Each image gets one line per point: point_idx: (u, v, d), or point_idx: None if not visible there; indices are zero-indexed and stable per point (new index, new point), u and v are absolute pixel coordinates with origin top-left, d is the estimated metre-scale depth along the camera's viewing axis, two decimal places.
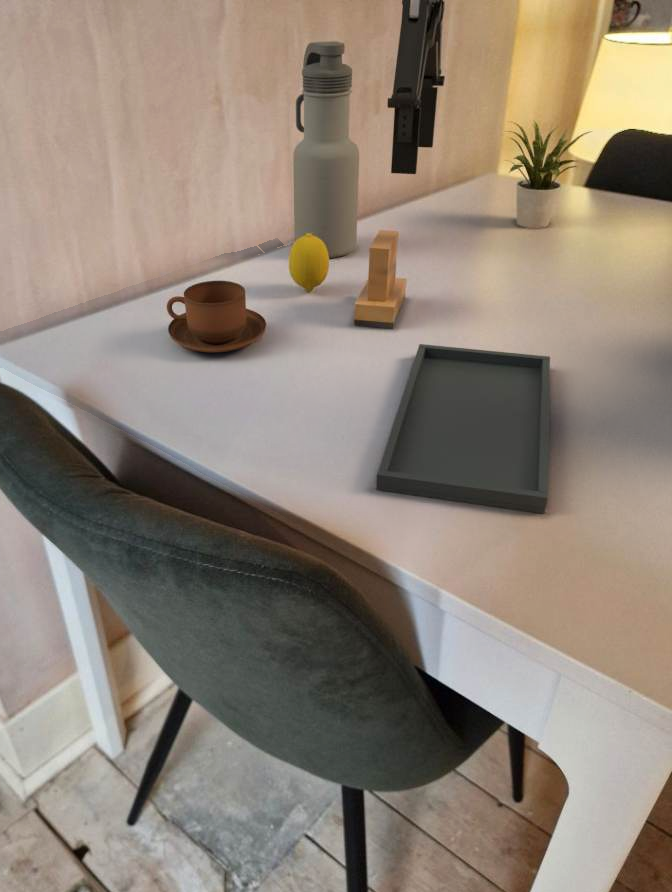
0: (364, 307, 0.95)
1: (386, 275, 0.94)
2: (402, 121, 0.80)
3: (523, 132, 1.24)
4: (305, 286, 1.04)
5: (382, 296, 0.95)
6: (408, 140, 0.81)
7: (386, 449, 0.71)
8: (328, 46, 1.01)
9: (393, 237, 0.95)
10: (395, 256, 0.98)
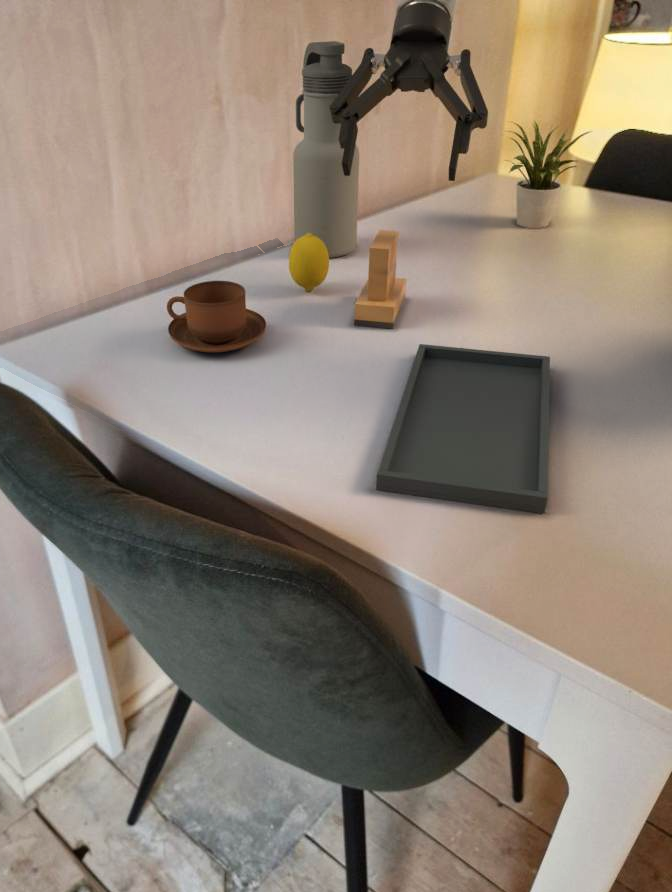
0: (364, 307, 0.95)
1: (386, 275, 0.94)
2: None
3: (523, 132, 1.24)
4: (305, 286, 1.04)
5: (382, 296, 0.95)
6: (339, 141, 0.99)
7: (386, 449, 0.71)
8: (328, 46, 1.01)
9: (393, 237, 0.95)
10: (395, 256, 0.98)
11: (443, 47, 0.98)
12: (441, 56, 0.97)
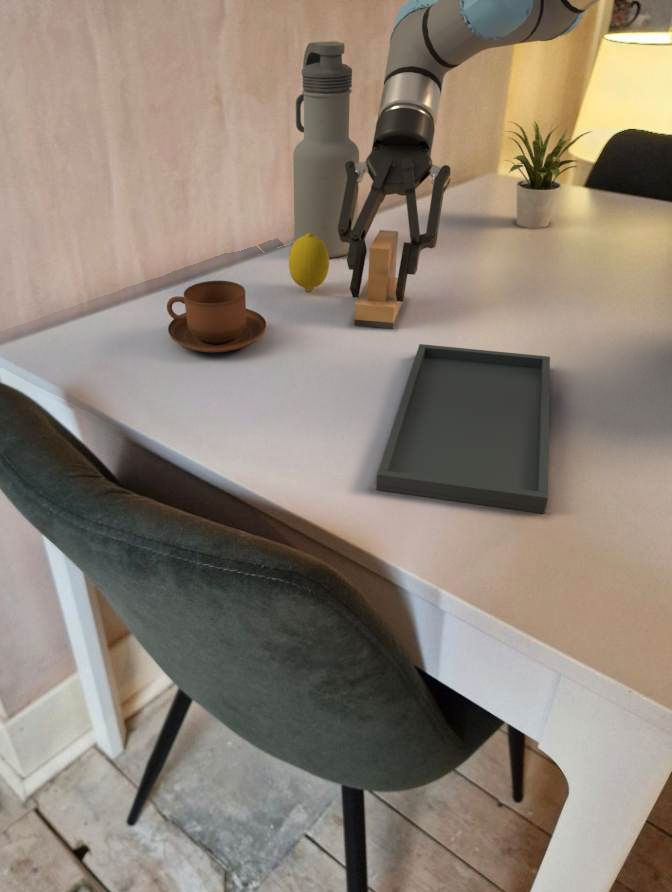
0: (364, 307, 0.95)
1: (386, 275, 0.94)
2: None
3: (523, 132, 1.24)
4: (305, 286, 1.04)
5: (382, 296, 0.95)
6: (347, 263, 0.96)
7: (386, 449, 0.71)
8: (328, 46, 1.01)
9: (393, 237, 0.95)
10: (395, 256, 0.98)
11: (426, 152, 0.96)
12: (423, 162, 0.95)
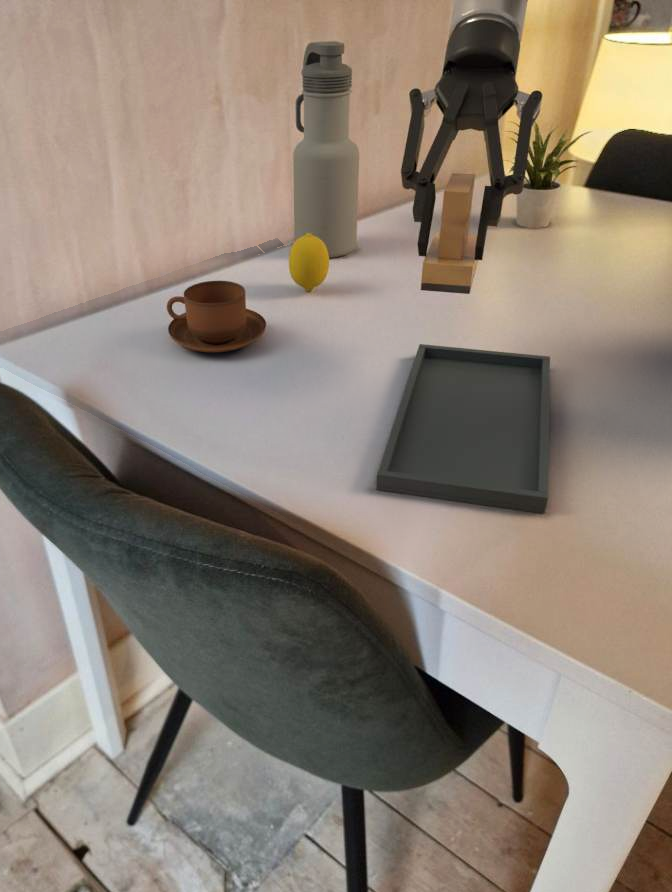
0: (434, 266, 0.77)
1: (463, 226, 0.75)
2: None
3: None
4: (305, 286, 1.04)
5: (457, 253, 0.77)
6: (413, 213, 0.78)
7: (386, 449, 0.71)
8: (328, 46, 1.01)
9: (470, 180, 0.77)
10: None
11: (511, 75, 0.77)
12: (507, 87, 0.77)
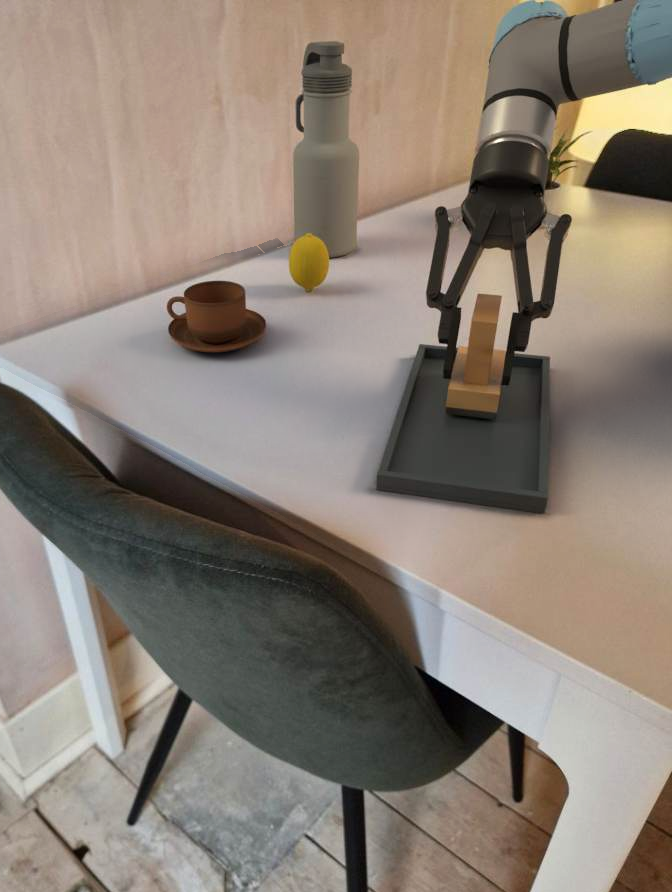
0: (460, 392, 0.75)
1: (490, 354, 0.74)
2: None
3: None
4: (305, 286, 1.04)
5: (483, 378, 0.75)
6: (438, 336, 0.76)
7: (386, 449, 0.71)
8: (328, 46, 1.01)
9: (498, 305, 0.75)
10: None
11: (539, 196, 0.76)
12: (536, 209, 0.75)
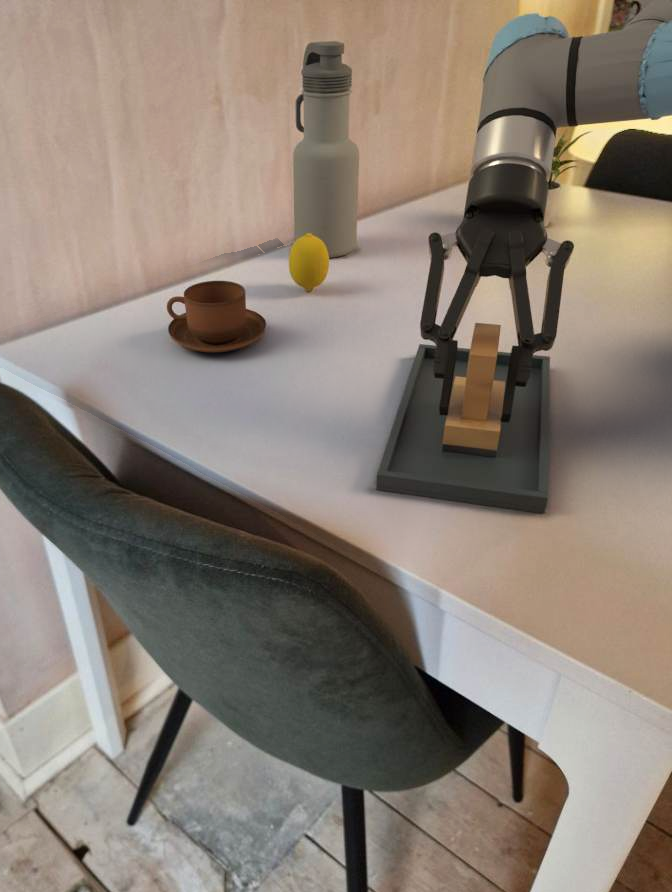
0: (457, 429, 0.71)
1: (490, 389, 0.69)
2: None
3: None
4: (305, 286, 1.04)
5: (482, 414, 0.71)
6: (433, 371, 0.72)
7: (386, 449, 0.71)
8: (328, 46, 1.01)
9: (497, 335, 0.70)
10: None
11: (539, 222, 0.71)
12: (536, 235, 0.71)
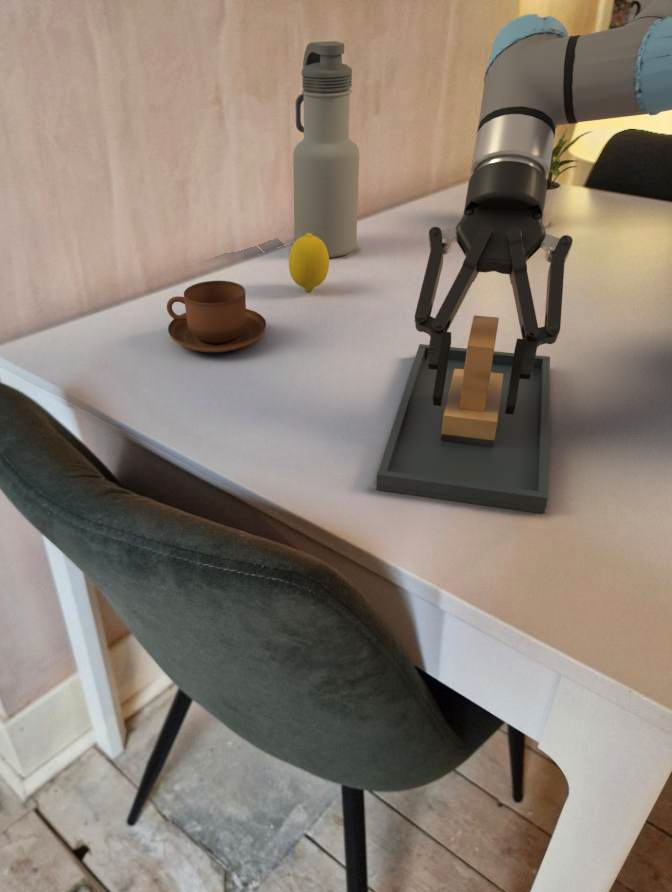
0: (456, 419, 0.72)
1: (487, 380, 0.70)
2: None
3: None
4: (305, 286, 1.04)
5: (480, 405, 0.72)
6: (427, 362, 0.73)
7: (386, 449, 0.71)
8: (328, 46, 1.01)
9: (495, 327, 0.72)
10: None
11: (537, 218, 0.73)
12: (534, 231, 0.72)
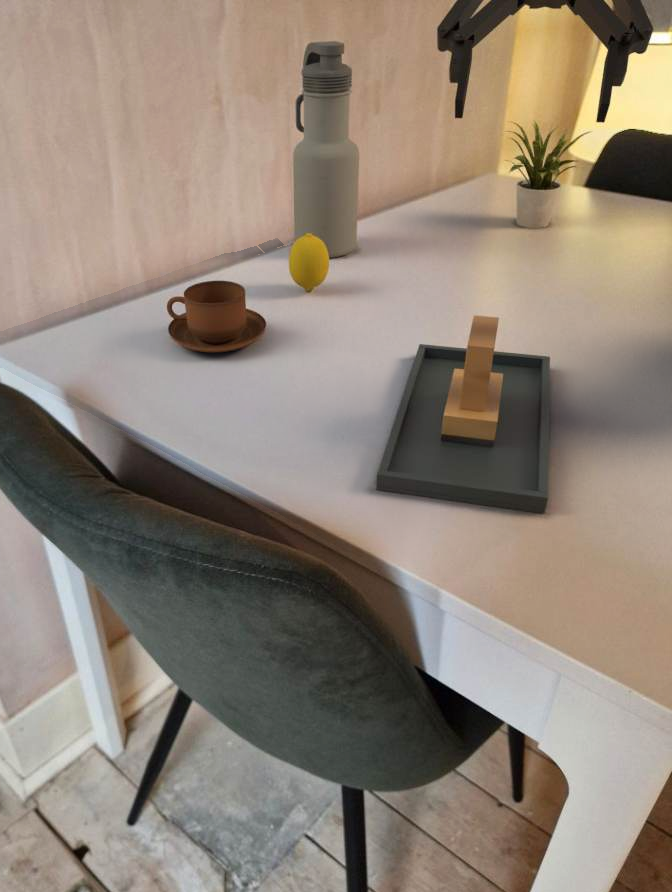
0: (456, 419, 0.72)
1: (487, 380, 0.70)
2: None
3: (523, 132, 1.24)
4: (305, 286, 1.04)
5: (480, 405, 0.72)
6: (449, 72, 0.76)
7: (386, 449, 0.71)
8: (328, 46, 1.01)
9: (495, 327, 0.72)
10: None
11: None
12: None
